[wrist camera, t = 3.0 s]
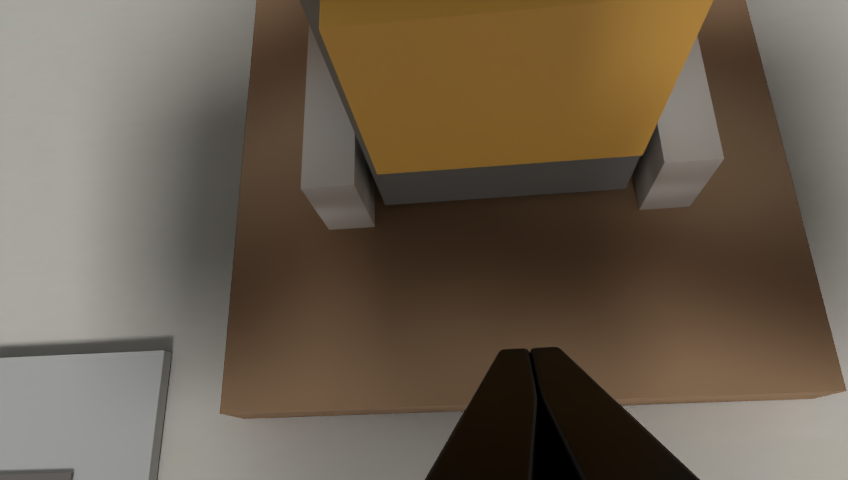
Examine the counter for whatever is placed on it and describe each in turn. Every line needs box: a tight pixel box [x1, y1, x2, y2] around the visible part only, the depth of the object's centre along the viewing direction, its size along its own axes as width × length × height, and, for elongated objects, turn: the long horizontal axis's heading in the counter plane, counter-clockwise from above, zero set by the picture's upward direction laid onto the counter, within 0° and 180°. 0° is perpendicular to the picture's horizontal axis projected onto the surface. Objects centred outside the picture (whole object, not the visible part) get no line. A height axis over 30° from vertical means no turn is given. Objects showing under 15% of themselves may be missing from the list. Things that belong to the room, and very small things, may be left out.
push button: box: [299, 0, 713, 205], centre depth 12 cm, size 5×6×10 cm
